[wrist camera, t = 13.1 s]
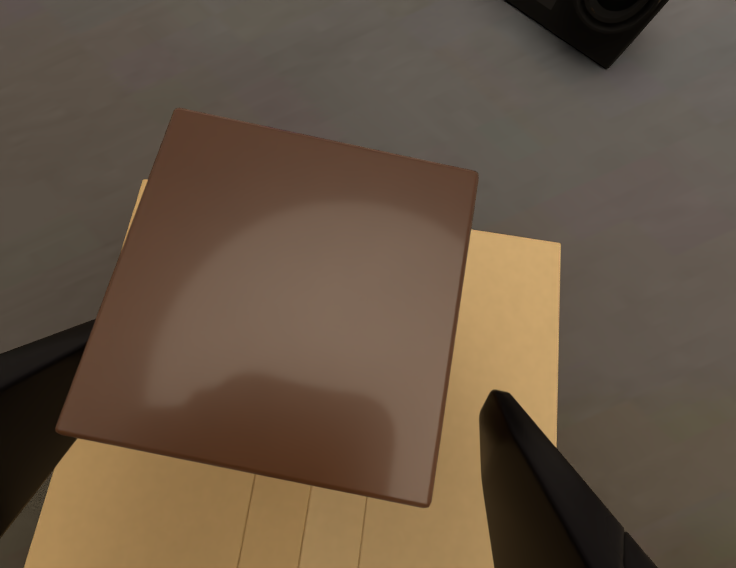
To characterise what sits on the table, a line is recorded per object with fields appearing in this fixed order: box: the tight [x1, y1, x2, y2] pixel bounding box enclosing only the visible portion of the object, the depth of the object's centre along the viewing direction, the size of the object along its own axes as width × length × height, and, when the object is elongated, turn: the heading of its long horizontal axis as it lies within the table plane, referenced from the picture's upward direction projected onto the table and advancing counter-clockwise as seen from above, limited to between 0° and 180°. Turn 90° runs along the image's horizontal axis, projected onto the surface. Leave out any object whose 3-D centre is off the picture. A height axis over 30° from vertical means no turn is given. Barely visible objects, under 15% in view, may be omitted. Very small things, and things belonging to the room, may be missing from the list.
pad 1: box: [24, 179, 311, 568], centre depth 17 cm, size 20×11×2 cm, turn 172°
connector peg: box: [55, 108, 479, 508], centre depth 11 cm, size 4×4×15 cm
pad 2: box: [298, 230, 561, 568], centre depth 18 cm, size 20×11×2 cm, turn 172°
